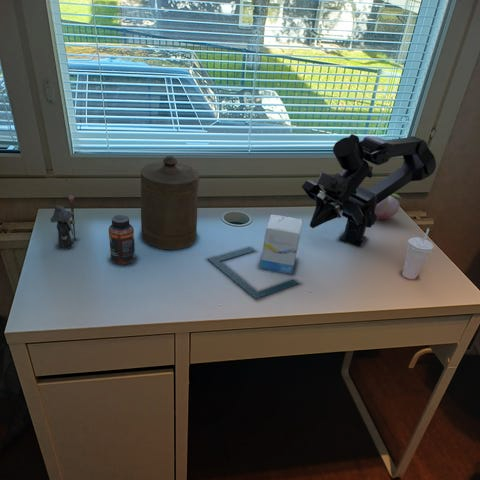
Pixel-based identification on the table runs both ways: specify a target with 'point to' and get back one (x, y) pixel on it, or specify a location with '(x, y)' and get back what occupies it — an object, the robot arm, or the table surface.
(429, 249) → the smoothie
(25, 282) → the table surface
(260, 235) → the table surface
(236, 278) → the frame
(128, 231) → the supplement bottle
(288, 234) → the ink box
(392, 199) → the decorative fruit
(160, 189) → the wooden container
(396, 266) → the table surface
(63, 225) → the wizard figurine
